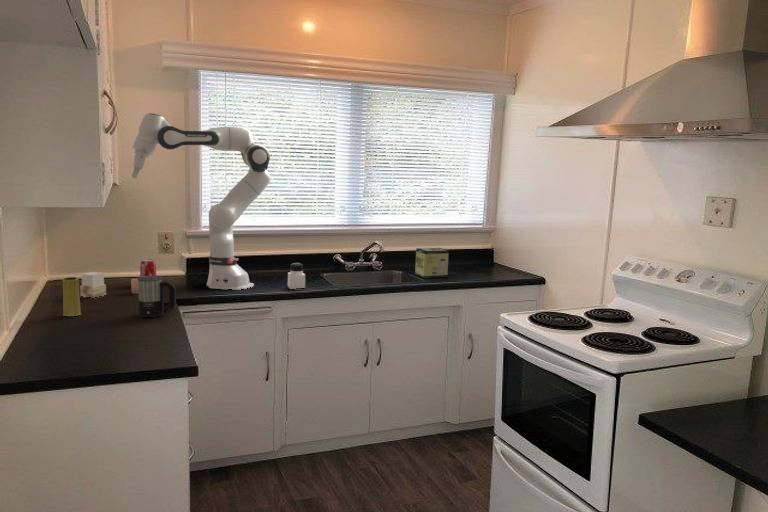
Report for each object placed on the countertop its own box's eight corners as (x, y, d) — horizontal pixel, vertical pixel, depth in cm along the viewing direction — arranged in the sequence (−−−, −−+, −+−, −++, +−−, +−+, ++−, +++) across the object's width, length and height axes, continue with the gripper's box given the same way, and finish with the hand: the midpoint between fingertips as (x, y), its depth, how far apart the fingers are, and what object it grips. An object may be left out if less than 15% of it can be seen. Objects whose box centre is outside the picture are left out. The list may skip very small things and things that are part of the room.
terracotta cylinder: (146, 292, 265) (145, 279, 264) (138, 294, 261) (137, 281, 260) (137, 291, 267) (136, 278, 266) (129, 293, 262) (128, 279, 261)
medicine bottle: (305, 289, 285) (305, 264, 283) (290, 289, 282) (291, 265, 280) (301, 286, 291) (302, 262, 290) (287, 286, 289) (287, 262, 287)
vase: (64, 314, 224) (62, 277, 222) (82, 313, 226) (80, 276, 224) (61, 318, 218) (60, 280, 216) (80, 317, 221) (78, 279, 218)
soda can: (137, 285, 279) (136, 260, 277) (149, 282, 285) (148, 258, 283) (147, 287, 275) (147, 261, 274) (159, 284, 282) (159, 259, 280)
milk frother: (138, 319, 221) (137, 280, 219) (136, 309, 235) (135, 272, 233) (178, 316, 228) (177, 278, 225) (173, 307, 242) (173, 271, 239)
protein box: (414, 275, 333) (415, 248, 330) (438, 274, 339) (440, 247, 336) (423, 278, 323) (424, 250, 321) (447, 277, 329) (449, 250, 327)
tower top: (104, 284, 255) (103, 273, 255) (92, 286, 250) (92, 275, 249) (93, 283, 257) (92, 271, 257) (82, 285, 252) (81, 273, 251)
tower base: (106, 295, 256) (105, 284, 256) (93, 298, 250) (92, 287, 249) (93, 293, 259) (93, 282, 258) (80, 297, 252) (80, 285, 251)
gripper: (152, 150, 256) (141, 181, 257) (150, 150, 275) (140, 178, 275) (136, 145, 254) (126, 176, 254) (136, 145, 272) (126, 174, 273)
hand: (134, 177), depth 265 cm, fingers open, 8 cm apart
